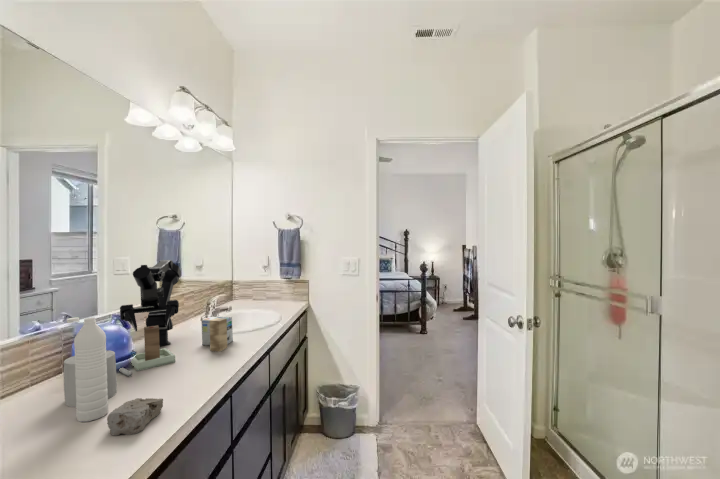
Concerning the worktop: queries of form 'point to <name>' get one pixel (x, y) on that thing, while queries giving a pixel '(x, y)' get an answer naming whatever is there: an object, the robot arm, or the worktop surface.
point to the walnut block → (151, 342)
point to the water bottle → (90, 371)
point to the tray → (153, 360)
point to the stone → (133, 415)
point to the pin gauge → (125, 372)
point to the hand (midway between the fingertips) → (151, 328)
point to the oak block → (218, 334)
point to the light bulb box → (207, 330)
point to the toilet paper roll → (70, 378)
